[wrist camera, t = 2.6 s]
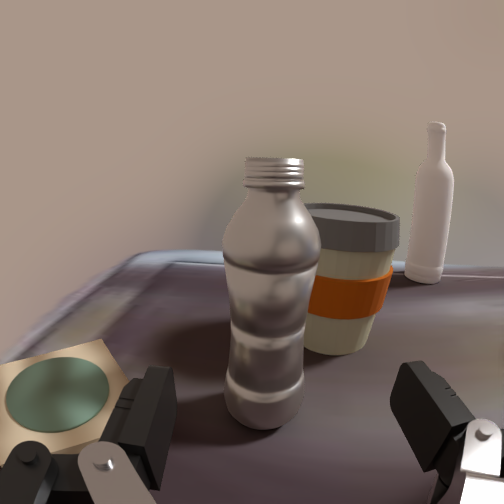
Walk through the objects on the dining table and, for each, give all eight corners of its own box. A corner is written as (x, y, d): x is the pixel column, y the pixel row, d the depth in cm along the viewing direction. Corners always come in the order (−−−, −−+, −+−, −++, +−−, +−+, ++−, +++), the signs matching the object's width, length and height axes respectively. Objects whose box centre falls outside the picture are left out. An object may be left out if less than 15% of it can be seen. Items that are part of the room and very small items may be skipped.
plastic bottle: (211, 427, 22) (200, 156, 17) (241, 380, 28) (244, 158, 23) (290, 447, 20) (320, 159, 15) (307, 394, 26) (331, 161, 21)
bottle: (396, 271, 59) (408, 120, 50) (423, 269, 60) (436, 127, 52) (420, 286, 51) (436, 118, 43) (447, 282, 53) (464, 127, 44)
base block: (109, 371, 28) (100, 336, 27) (164, 451, 19) (154, 413, 18) (6, 400, 20) (-11, 364, 19) (26, 497, 12) (-3, 462, 10)
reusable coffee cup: (275, 312, 43) (280, 201, 38) (361, 310, 43) (375, 205, 39) (286, 367, 31) (297, 220, 26) (396, 359, 31) (424, 225, 27)
